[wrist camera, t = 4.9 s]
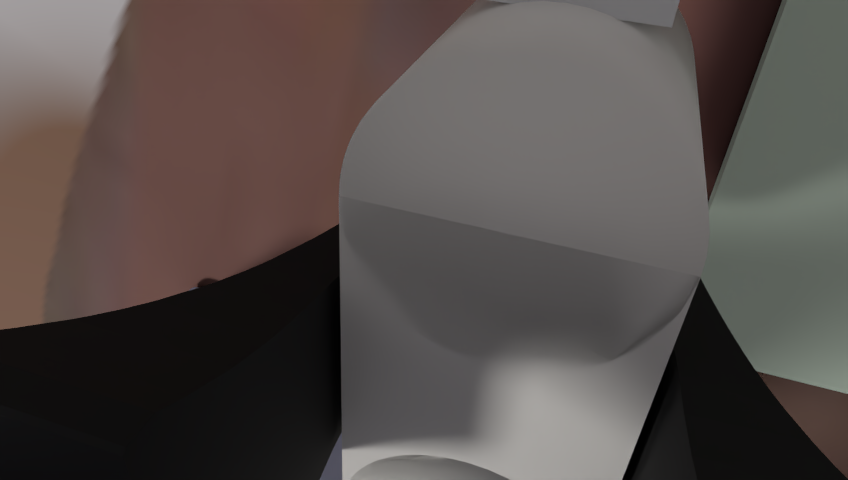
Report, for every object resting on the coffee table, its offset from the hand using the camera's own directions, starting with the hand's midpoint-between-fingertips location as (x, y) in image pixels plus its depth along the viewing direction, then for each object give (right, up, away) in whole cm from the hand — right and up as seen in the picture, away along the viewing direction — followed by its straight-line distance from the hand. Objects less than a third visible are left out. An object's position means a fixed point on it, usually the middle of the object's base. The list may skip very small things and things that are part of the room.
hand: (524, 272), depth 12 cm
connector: (+1, +2, 0) cm, 2 cm away
